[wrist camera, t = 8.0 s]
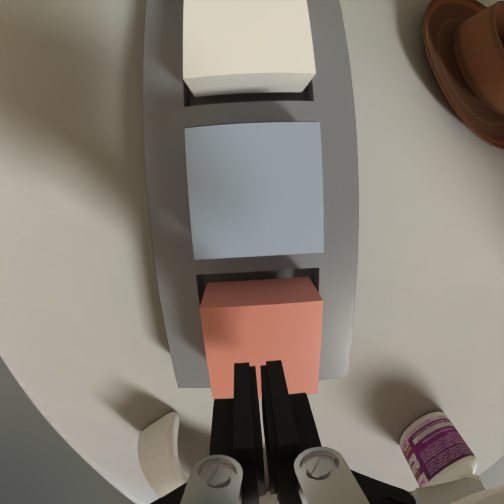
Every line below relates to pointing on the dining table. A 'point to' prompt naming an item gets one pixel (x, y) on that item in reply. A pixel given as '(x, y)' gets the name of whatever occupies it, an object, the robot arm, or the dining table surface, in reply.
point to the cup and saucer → (469, 62)
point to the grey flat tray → (177, 200)
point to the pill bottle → (437, 451)
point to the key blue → (255, 189)
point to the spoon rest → (168, 457)
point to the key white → (246, 46)
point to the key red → (262, 331)
